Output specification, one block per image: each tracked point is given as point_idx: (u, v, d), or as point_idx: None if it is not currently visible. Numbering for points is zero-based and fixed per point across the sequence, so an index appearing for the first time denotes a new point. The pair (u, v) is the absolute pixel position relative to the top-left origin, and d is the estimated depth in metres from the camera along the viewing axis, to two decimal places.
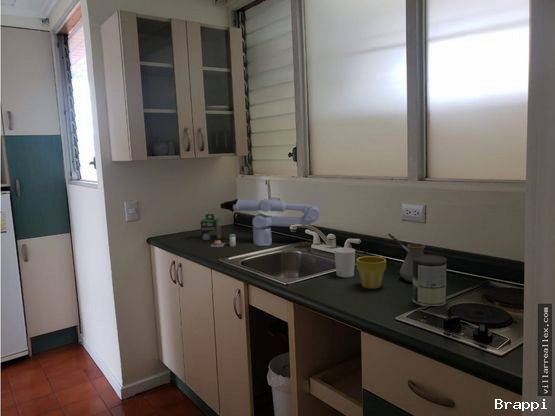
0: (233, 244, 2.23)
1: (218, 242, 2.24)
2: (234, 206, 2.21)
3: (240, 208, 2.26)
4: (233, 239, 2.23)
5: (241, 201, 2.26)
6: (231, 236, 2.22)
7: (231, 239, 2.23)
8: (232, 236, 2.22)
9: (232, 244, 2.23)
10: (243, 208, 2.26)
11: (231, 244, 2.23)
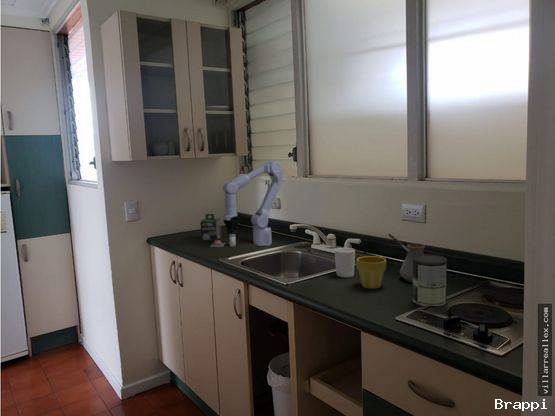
0: (233, 244, 2.23)
1: (218, 242, 2.24)
2: (227, 219, 2.15)
3: (232, 213, 2.20)
4: (233, 239, 2.23)
5: (226, 212, 2.21)
6: (231, 236, 2.22)
7: (231, 239, 2.23)
8: (232, 236, 2.22)
9: (232, 244, 2.23)
10: (232, 210, 2.19)
11: (231, 244, 2.23)
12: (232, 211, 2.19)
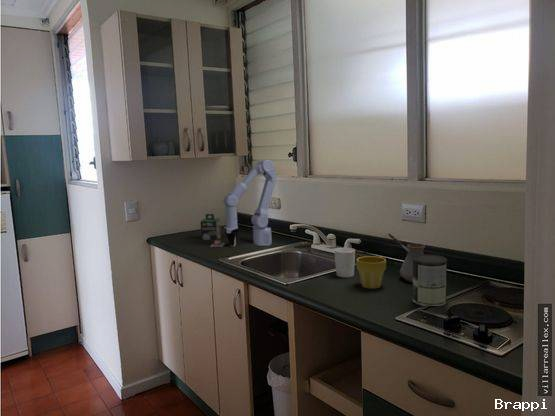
0: None
1: (218, 242, 2.24)
2: (228, 231, 2.16)
3: (233, 225, 2.21)
4: None
5: (226, 224, 2.21)
6: None
7: None
8: None
9: None
10: (233, 222, 2.20)
11: None
12: (233, 224, 2.20)
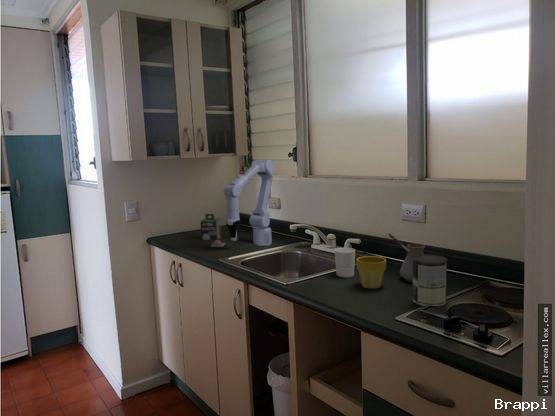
0: None
1: (218, 242, 2.24)
2: (229, 223, 2.07)
3: (235, 217, 2.11)
4: None
5: (228, 216, 2.12)
6: None
7: None
8: None
9: None
10: (235, 214, 2.11)
11: None
12: (234, 215, 2.11)
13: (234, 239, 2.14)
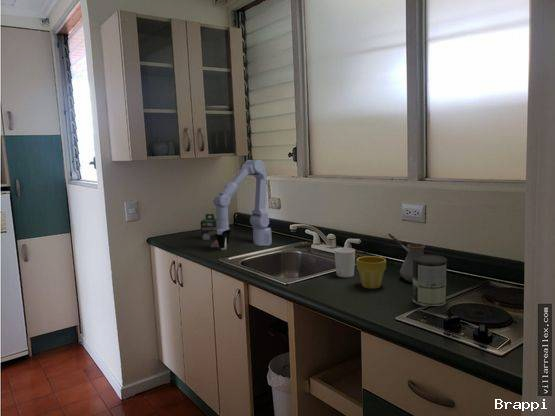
0: (224, 247, 2.15)
1: None
2: (218, 233, 2.09)
3: (224, 226, 2.13)
4: None
5: (217, 225, 2.14)
6: None
7: None
8: None
9: None
10: (224, 223, 2.13)
11: None
12: (224, 225, 2.13)
13: (224, 249, 2.16)
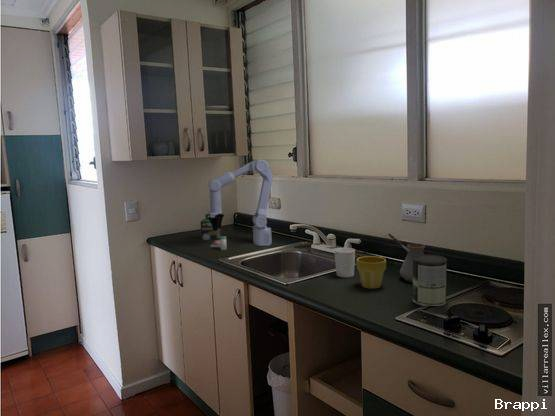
0: (224, 246, 2.16)
1: (218, 242, 2.24)
2: (211, 216, 2.17)
3: (217, 210, 2.21)
4: (224, 241, 2.15)
5: (210, 209, 2.22)
6: (222, 238, 2.15)
7: (222, 241, 2.15)
8: (223, 238, 2.15)
9: (223, 246, 2.15)
10: (217, 207, 2.21)
11: (222, 246, 2.16)
12: (217, 208, 2.21)
13: (224, 249, 2.16)
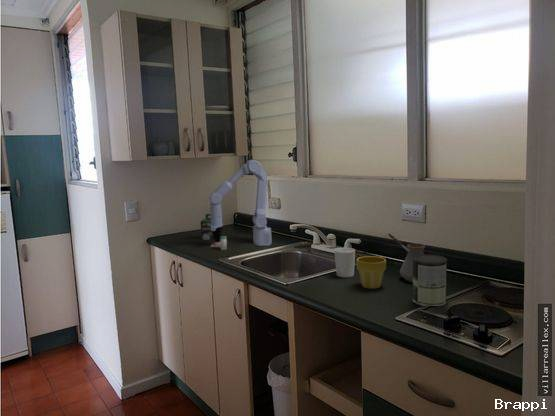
0: (224, 246, 2.16)
1: (218, 243, 2.25)
2: (212, 229, 2.18)
3: (218, 223, 2.22)
4: (224, 241, 2.15)
5: (211, 222, 2.23)
6: (222, 238, 2.15)
7: (222, 241, 2.15)
8: (223, 238, 2.15)
9: (223, 246, 2.15)
10: (218, 220, 2.22)
11: (222, 246, 2.16)
12: (217, 221, 2.22)
13: (224, 249, 2.16)
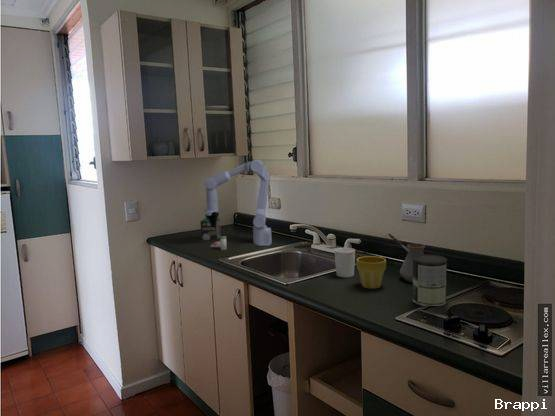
0: (224, 246, 2.16)
1: (218, 243, 2.25)
2: (208, 214, 2.21)
3: (213, 208, 2.25)
4: (224, 241, 2.15)
5: (207, 207, 2.26)
6: (222, 238, 2.15)
7: (222, 241, 2.15)
8: (223, 238, 2.15)
9: (223, 246, 2.15)
10: (213, 205, 2.25)
11: (222, 246, 2.16)
12: (213, 206, 2.25)
13: (224, 249, 2.16)
